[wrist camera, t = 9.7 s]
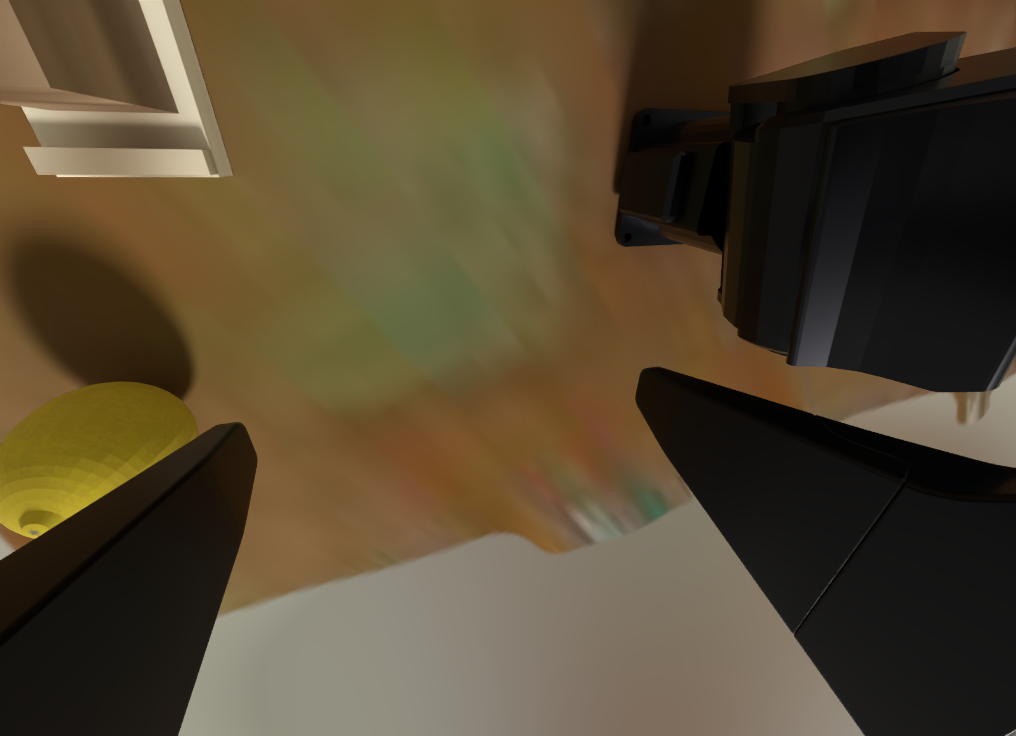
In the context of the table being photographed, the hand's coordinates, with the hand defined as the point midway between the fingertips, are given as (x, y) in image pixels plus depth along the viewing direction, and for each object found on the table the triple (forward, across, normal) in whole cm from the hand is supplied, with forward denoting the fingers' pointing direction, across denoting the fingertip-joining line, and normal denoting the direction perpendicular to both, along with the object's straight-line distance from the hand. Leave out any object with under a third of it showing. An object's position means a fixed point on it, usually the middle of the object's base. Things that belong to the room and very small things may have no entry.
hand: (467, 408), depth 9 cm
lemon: (+13, +14, +6) cm, 20 cm away
